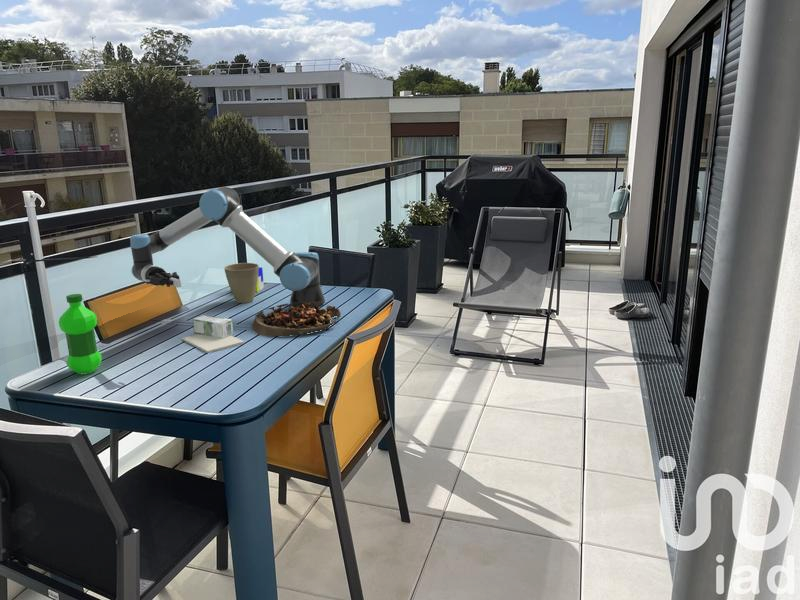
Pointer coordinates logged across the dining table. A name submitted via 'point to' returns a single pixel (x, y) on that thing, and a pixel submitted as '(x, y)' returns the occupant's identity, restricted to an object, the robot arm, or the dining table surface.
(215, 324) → the syrup box
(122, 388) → the dining table surface
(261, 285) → the puzzle toy
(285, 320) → the food dish
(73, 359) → the plastic bottle
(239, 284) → the plant pot
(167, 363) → the dining table surface
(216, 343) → the mat
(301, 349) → the dining table surface
